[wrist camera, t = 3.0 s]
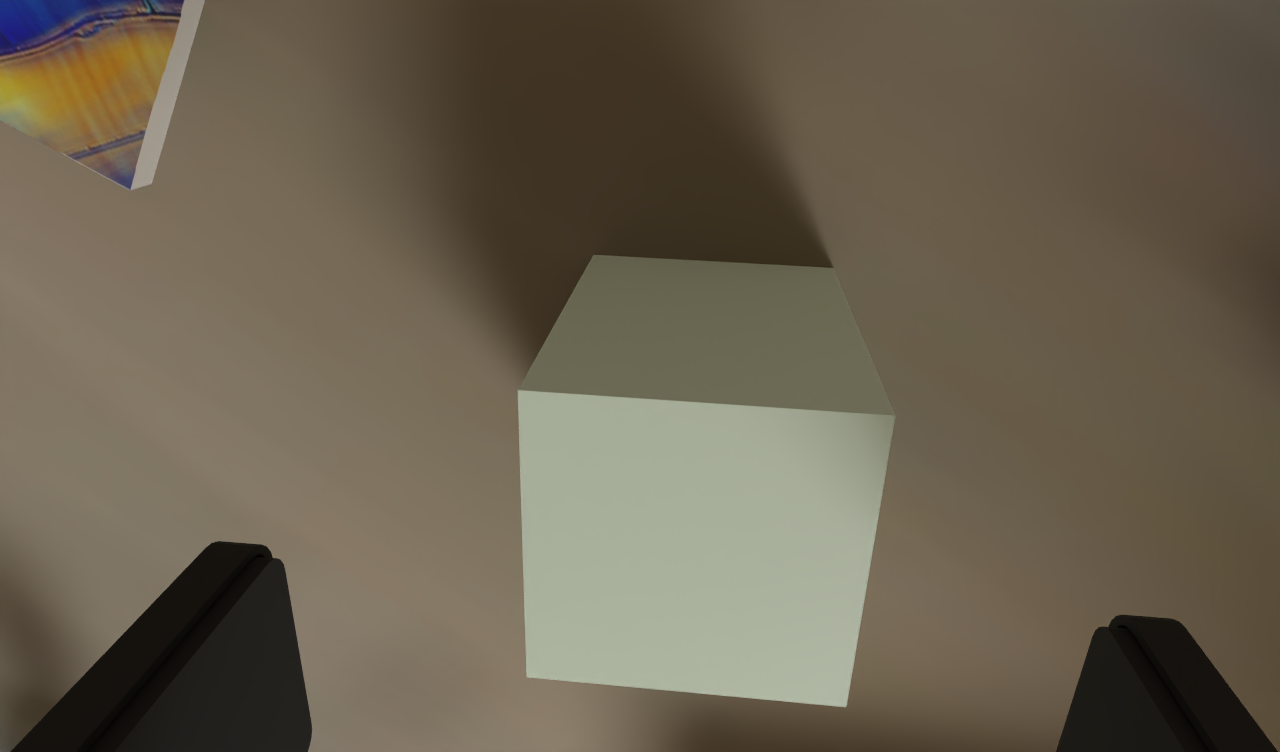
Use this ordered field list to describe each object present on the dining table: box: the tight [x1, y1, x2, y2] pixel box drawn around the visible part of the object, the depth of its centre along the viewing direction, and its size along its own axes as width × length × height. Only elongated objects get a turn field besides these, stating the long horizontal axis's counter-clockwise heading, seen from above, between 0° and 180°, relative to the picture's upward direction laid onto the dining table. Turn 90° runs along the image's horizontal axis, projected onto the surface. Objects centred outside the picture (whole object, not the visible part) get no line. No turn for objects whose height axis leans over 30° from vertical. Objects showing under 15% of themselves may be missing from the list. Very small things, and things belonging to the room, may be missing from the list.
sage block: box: [518, 255, 895, 707], centre depth 15 cm, size 5×5×7 cm
